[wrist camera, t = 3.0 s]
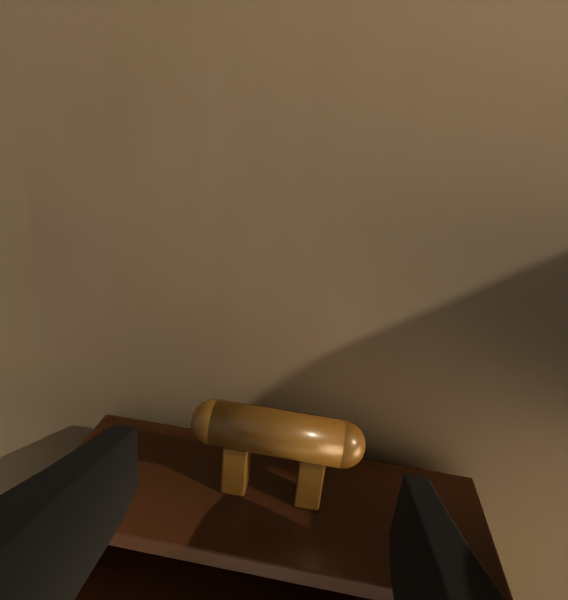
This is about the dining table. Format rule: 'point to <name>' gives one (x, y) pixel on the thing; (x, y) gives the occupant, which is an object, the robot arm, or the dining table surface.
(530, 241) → the dining table surface
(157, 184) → the dining table surface
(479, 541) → the drawer
